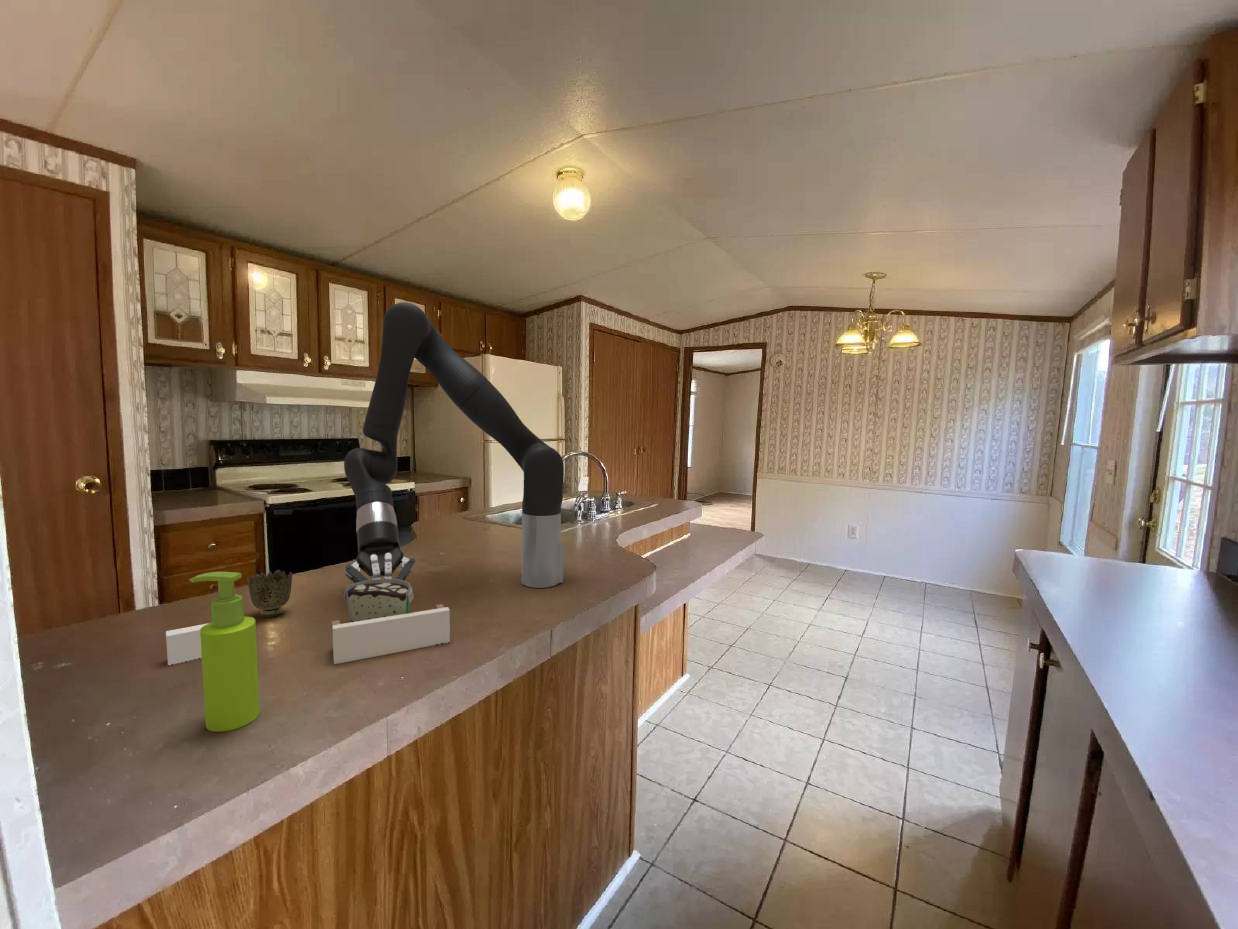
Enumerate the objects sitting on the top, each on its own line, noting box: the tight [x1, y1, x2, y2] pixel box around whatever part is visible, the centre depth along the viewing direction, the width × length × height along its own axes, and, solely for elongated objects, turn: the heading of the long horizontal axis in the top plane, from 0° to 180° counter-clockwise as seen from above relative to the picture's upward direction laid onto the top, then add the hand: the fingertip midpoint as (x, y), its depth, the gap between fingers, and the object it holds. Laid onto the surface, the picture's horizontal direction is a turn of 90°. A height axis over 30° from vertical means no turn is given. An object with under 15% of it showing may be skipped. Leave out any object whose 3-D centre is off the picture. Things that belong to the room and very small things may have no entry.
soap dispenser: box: [188, 571, 261, 733], centre depth 71 cm, size 6×7×20 cm
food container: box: [342, 578, 415, 623], centre depth 97 cm, size 12×6×10 cm, turn 84°
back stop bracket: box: [331, 603, 451, 665], centre depth 94 cm, size 18×6×6 cm, turn 120°
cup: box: [246, 569, 293, 618], centre depth 105 cm, size 8×7×8 cm
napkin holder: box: [165, 616, 254, 666], centre depth 89 cm, size 15×11×6 cm
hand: (384, 609), depth 99 cm, fingers closed
